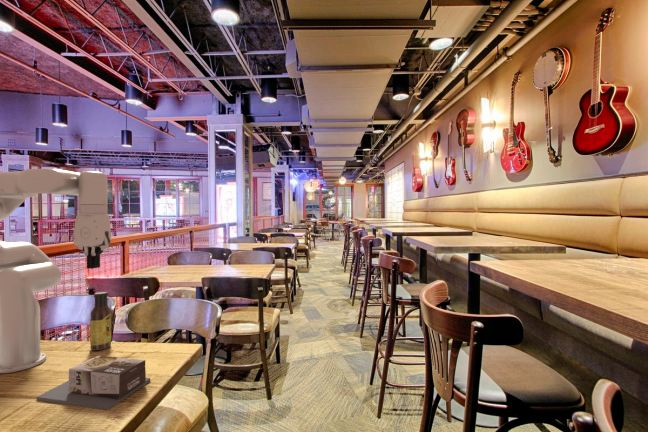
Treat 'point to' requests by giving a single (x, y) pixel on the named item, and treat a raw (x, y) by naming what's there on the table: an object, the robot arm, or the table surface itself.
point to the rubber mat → (81, 397)
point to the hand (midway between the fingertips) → (93, 267)
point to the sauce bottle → (100, 323)
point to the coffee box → (107, 376)
